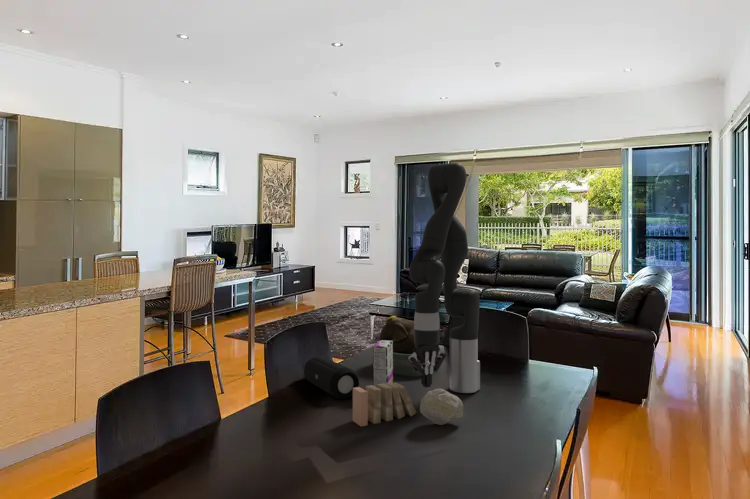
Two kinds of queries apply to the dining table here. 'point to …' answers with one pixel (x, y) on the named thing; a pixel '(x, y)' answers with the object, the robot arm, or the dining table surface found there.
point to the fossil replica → (441, 406)
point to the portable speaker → (331, 377)
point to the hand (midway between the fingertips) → (426, 386)
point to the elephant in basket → (401, 344)
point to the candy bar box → (383, 362)
